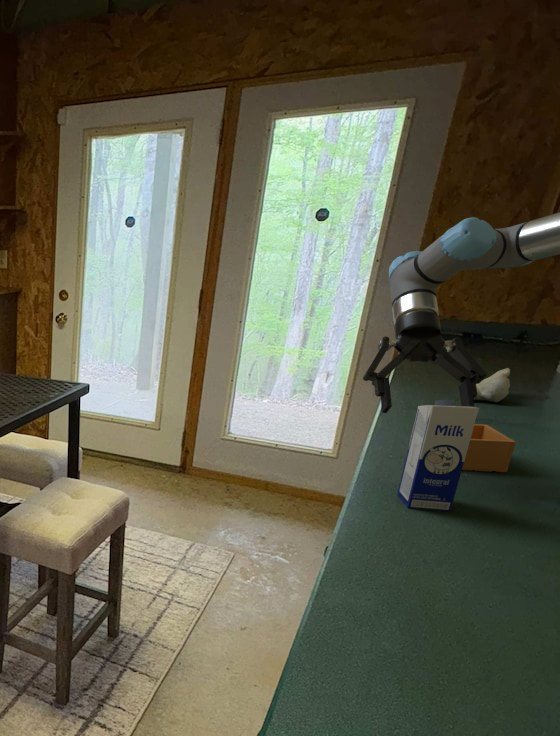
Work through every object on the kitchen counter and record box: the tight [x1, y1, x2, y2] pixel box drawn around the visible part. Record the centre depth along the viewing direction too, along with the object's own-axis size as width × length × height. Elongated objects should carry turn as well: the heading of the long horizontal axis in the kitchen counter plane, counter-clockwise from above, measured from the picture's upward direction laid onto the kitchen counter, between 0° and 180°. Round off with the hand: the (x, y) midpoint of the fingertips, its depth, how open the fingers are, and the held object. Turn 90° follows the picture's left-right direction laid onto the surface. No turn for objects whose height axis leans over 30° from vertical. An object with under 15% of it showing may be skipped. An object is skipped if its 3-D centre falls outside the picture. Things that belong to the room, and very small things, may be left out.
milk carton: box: [396, 399, 480, 512], centre depth 115 cm, size 7×7×20 cm
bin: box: [462, 423, 517, 473], centre depth 138 cm, size 13×13×7 cm
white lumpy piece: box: [473, 367, 511, 403], centre depth 182 cm, size 15×7×15 cm
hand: (427, 411), depth 120 cm, fingers open, 13 cm apart
